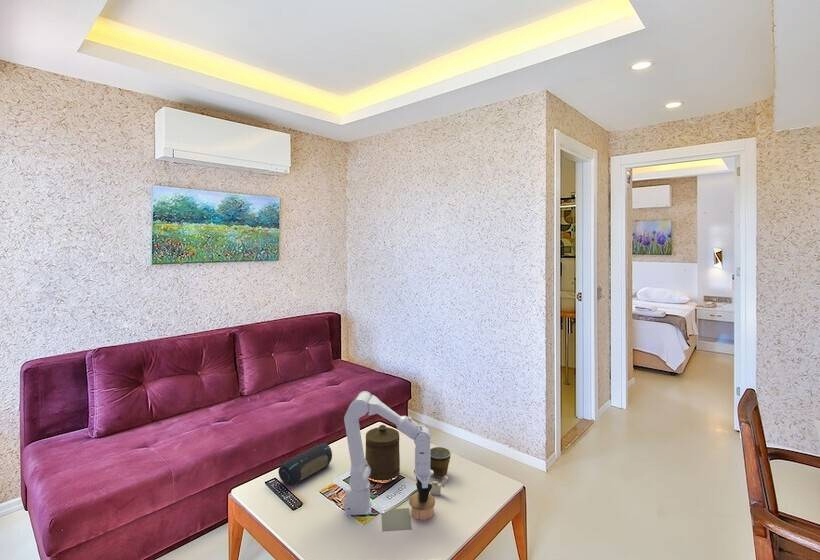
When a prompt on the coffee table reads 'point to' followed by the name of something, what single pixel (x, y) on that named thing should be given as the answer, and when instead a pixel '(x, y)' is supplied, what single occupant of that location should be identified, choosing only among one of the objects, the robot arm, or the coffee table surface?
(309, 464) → the portable speaker
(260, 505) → the coffee table surface
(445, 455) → the ceramic cup
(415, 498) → the lid
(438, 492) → the lighter
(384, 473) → the wooden container
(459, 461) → the coffee table surface
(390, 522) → the mat
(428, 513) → the bowl
